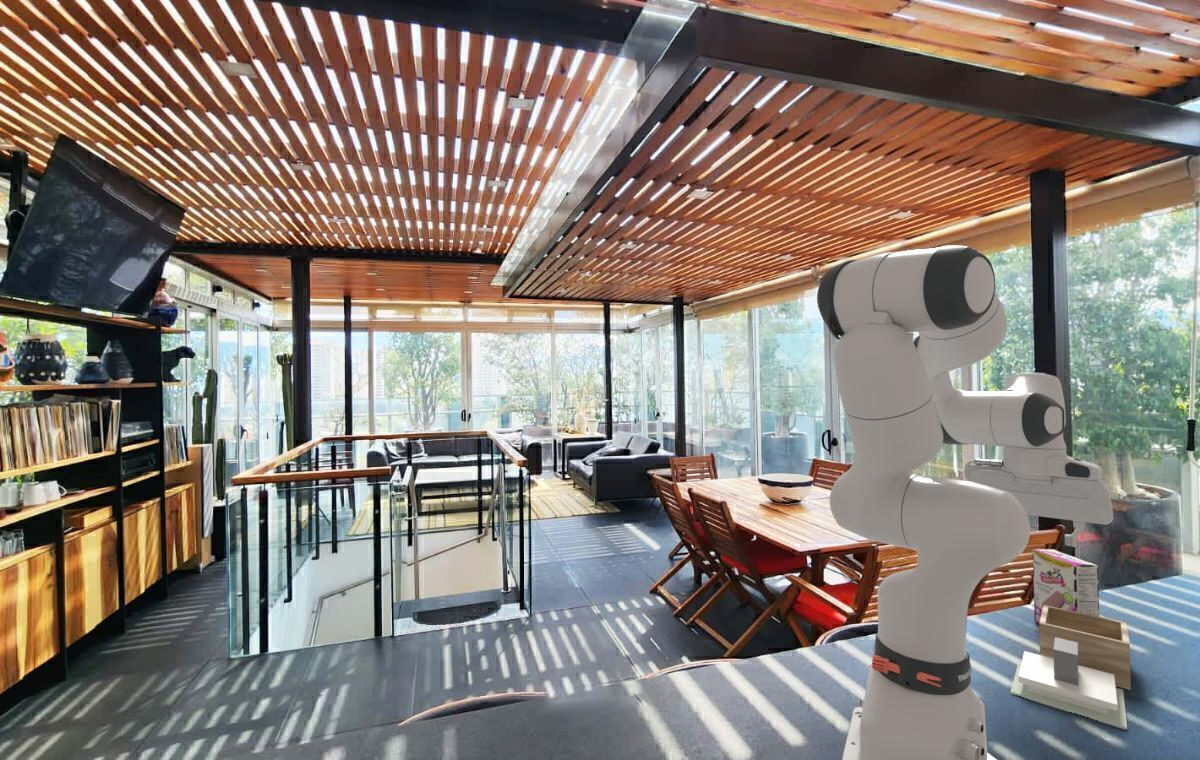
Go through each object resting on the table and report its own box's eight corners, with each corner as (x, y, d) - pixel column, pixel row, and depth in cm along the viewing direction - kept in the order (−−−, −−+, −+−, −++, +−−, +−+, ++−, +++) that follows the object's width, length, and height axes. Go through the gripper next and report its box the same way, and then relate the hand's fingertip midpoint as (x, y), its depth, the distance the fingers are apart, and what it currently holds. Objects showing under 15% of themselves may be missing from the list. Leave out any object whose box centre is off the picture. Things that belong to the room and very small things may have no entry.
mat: (1127, 730, 79) (1127, 727, 79) (1010, 693, 89) (1010, 691, 89) (1123, 692, 89) (1123, 689, 89) (1018, 663, 99) (1018, 661, 99)
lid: (1117, 721, 81) (1116, 672, 81) (1018, 691, 89) (1017, 646, 89) (1114, 689, 89) (1113, 645, 90) (1024, 664, 98) (1023, 624, 98)
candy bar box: (1032, 621, 117) (1030, 548, 118) (1054, 622, 117) (1053, 548, 117) (1076, 645, 106) (1074, 564, 106) (1101, 646, 106) (1099, 564, 106)
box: (1130, 691, 90) (1129, 644, 90) (1040, 665, 98) (1039, 623, 98) (1127, 665, 99) (1126, 622, 99) (1044, 644, 107) (1043, 604, 107)
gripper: (961, 459, 99) (962, 532, 98) (1112, 470, 84) (1114, 556, 84) (967, 456, 103) (968, 526, 103) (1112, 467, 89) (1113, 548, 89)
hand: (1035, 540), depth 93 cm, fingers open, 8 cm apart
